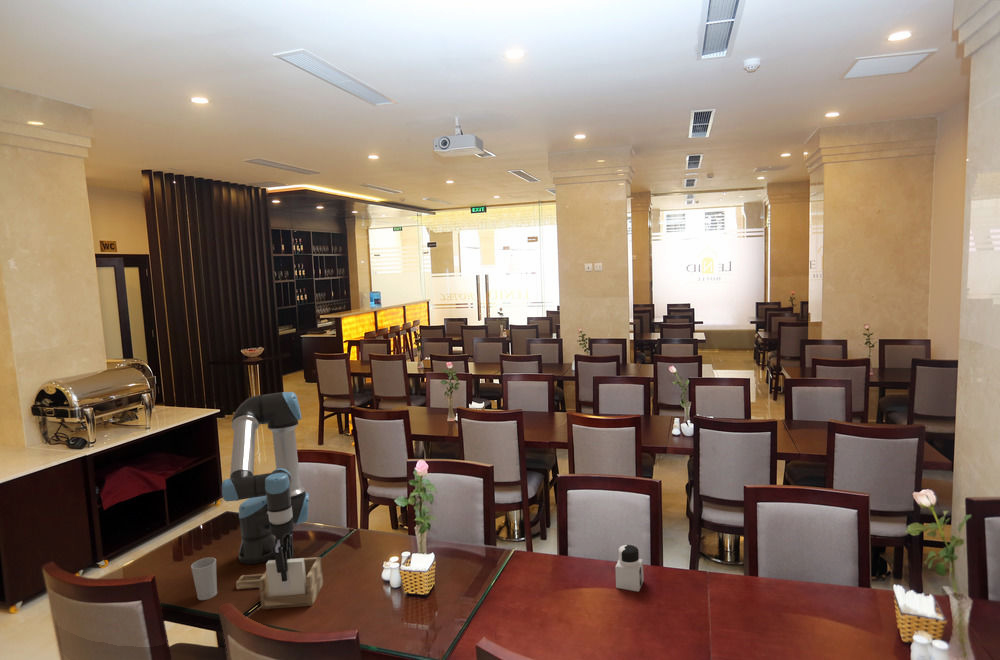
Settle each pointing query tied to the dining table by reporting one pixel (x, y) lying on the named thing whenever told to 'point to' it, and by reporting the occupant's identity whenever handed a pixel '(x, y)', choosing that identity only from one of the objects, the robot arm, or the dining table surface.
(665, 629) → the dining table surface
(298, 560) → the white square slab
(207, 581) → the cup
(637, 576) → the container
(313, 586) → the wooden box
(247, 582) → the small wooden tray
